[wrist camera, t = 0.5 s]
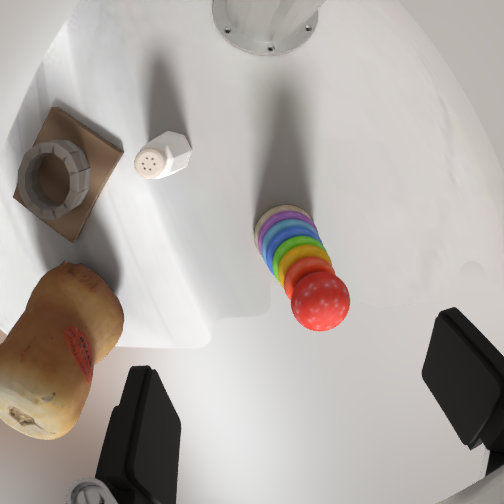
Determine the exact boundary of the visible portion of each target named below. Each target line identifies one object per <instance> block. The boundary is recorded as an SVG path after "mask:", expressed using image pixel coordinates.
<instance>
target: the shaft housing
mask: <svg viewBox="0 0 504 504" xmlns="http://www.w3.org/2000/svg"><path fill="white" fill-rule="evenodd" d="M123 153H124V152H123V151H121V150H120V149H118V148H117V147H115V146H114V145H112V144H111V143H110V142H108V141H107V140H105V139H104V138H102V137H101V136H99V135H98V134H96V133H95V132H93V131H92V130H90V129H89V128H87V127H86V126H84V125H83V124H82V123H80V122H79V121H77V120H76V119H74V118H73V117H71V116H70V115H68V114H67V113H65V112H64V111H62V110H61V109H59V108H58V107H52V109H51V111H50V113H49V115H48V117H47V118H46V120H45V122H44V124H43V126H42V128H41V130H40V133H39V135H38V137H37V139H36V141H35V143H34V145H33V148H32V149H31V150H29V151H28V152H27V153H26V154H25V156H24V158H23V160H22V163H21V165H20V168H19V170H18V171H19V172H18V184H17V187H16V190H15V193H14V195H13V198H14V199H16V200H17V201H18V202H19V203H21V204H22V205H23V206H24V207H26V208H27V209H28V210H29V211H31V212H32V213H33V214H35V215H36V216H37V217H38V218H40V219H41V220H42V221H44V222H45V223H46V224H48V225H49V226H50V227H52V228H53V229H54V230H56V231H57V232H58V233H60V234H61V235H62V236H64V237H65V238H66V239H68V240H69V241H71V242H72V243H73V242H74V241H75V240H76V239H77V238H78V236H79V234H80V232H81V230H82V227H83V225H84V223H85V221H86V219H87V217H88V215H89V214H90V212H91V210H92V208H93V206H94V204H95V202H96V200H97V198H98V196H99V195H100V193H101V191H102V189H103V187H104V186H105V184H106V182H107V180H108V179H109V177H110V175H111V173H112V172H113V170H114V168H115V167H116V165H117V163H118V162H119V160H120V158H121V157H122V155H123Z"/></svg>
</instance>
